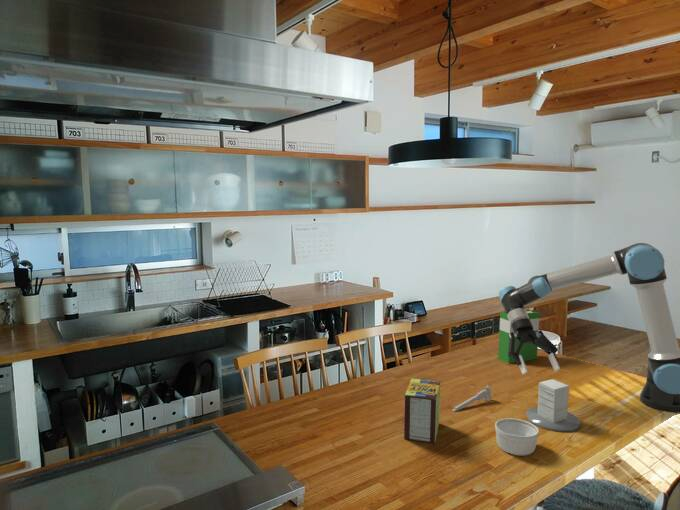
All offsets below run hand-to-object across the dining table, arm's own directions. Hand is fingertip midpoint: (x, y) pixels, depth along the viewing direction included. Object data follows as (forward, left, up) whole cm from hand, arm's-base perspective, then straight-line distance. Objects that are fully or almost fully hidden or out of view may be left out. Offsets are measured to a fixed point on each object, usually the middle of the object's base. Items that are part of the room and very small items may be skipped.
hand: (541, 371), depth 181 cm
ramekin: (-2, +32, -16) cm, 36 cm away
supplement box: (-6, +5, -15) cm, 16 cm away
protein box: (+27, +41, -16) cm, 52 cm away
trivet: (-6, +4, -15) cm, 17 cm away
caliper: (+22, +11, -16) cm, 29 cm away
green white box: (+26, -56, -16) cm, 63 cm away
